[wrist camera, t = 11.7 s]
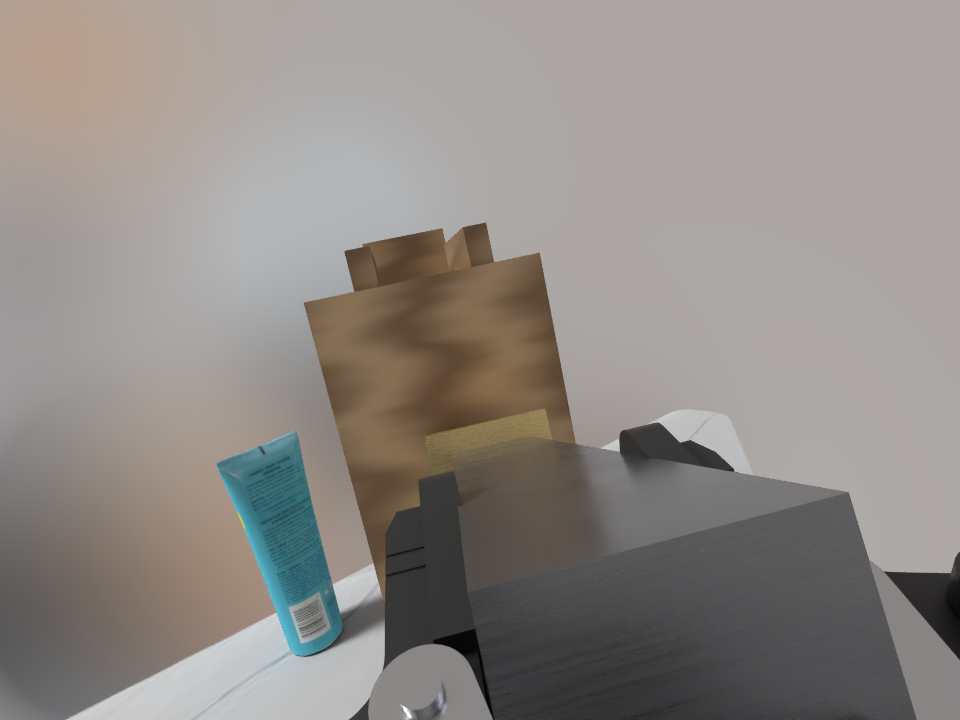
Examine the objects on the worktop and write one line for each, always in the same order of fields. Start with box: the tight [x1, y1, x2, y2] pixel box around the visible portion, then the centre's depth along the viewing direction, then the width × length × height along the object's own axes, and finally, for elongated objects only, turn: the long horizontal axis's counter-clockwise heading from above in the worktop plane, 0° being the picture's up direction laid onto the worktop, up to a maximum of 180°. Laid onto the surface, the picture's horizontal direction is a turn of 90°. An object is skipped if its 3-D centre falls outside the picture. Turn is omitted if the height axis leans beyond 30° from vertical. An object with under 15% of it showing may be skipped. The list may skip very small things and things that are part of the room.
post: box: [304, 223, 576, 604], centre depth 34 cm, size 12×14×34 cm
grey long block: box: [424, 409, 917, 720], centre depth 15 cm, size 6×21×4 cm, turn 7°
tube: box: [216, 431, 343, 656], centre depth 46 cm, size 7×5×19 cm, turn 148°
